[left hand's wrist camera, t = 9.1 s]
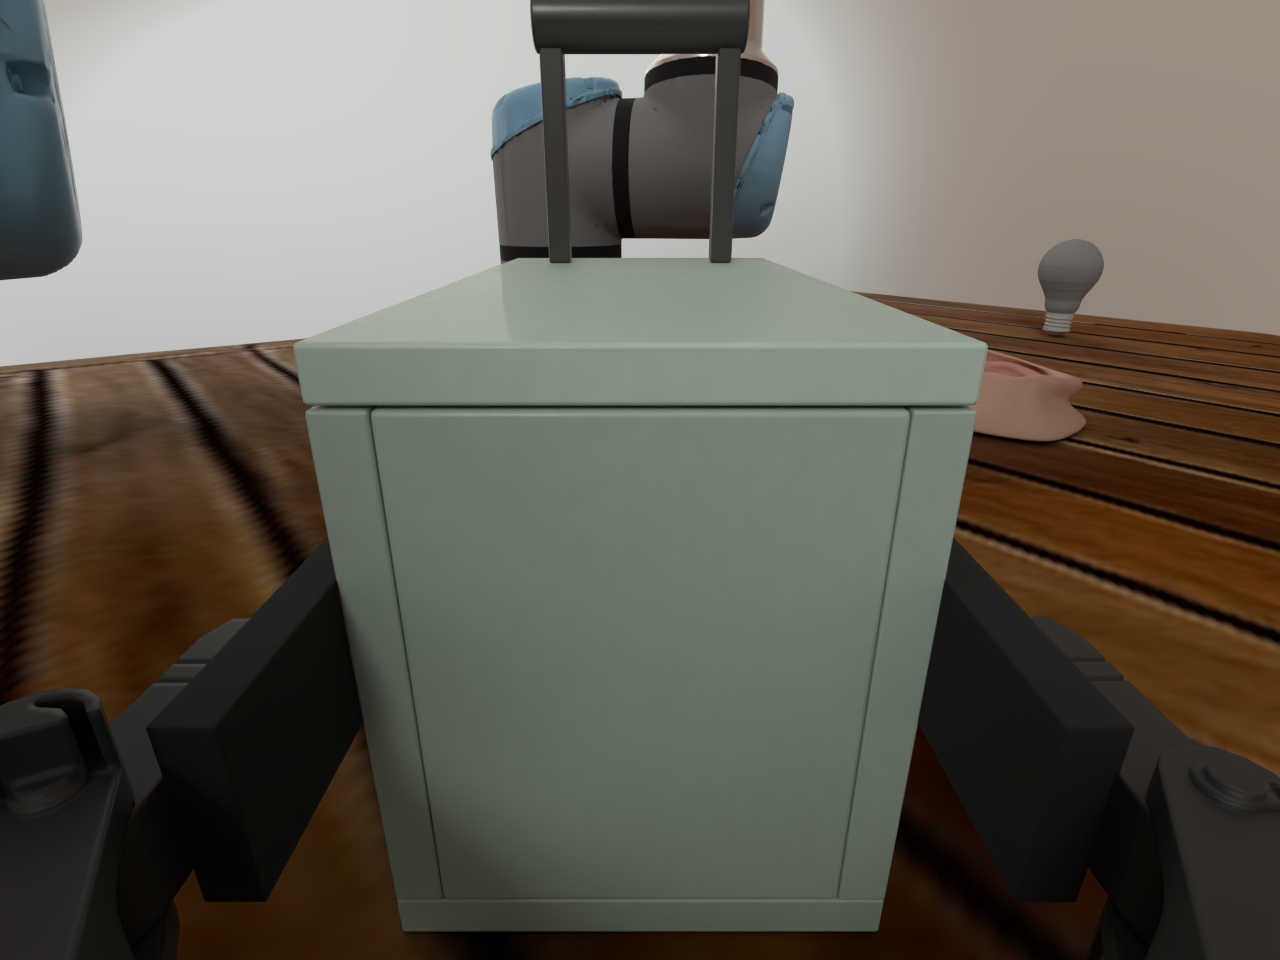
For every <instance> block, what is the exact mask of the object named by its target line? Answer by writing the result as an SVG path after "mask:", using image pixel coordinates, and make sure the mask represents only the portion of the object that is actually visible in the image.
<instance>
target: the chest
mask: <svg viewBox="0 0 1280 960" xmlns="http://www.w3.org/2000/svg"><path fill="white" fill-rule="evenodd" d="M976 415H977V413H976V411H975V410H973V409H972V408H970V407H968V406H314V407H312V408H310V409H309V410H307V411H306V413H305V417H306V423H307V428H308V433H309V438H310V444H311V449H312V454H313V459H314V465H315V470H316V475H317V481H318V486H319V491H320V496H321V502H322V507H323V512H324V518H325V523H326V528H327V533H328V539H329V544H330V549H331V554H332V560H333V565H334V570H335V576H336V580H337V585H338V591H339V596H340V601H341V607H342V612H343V617H344V622H345V628H346V633H347V638H348V644H349V649H350V654H351V659H352V665H353V670H354V675H355V680H356V686H357V691H358V696H359V702H360V707H361V712H362V717H363V723H364V729H365V734H366V739H367V744H368V750H369V755H370V760H371V765H372V771H373V776H374V781H375V787H376V792H377V797H378V802H379V808H380V813H381V818H382V823H383V829H384V834H385V839H386V845H387V850H388V855H389V860H390V866H391V871H392V876H393V882H394V887H395V892H396V897H397V898H398V899H397V904H398V909H399V914H400V919H401V925H402V930H403V931H878V928H879V923H880V918H881V913H882V907H883V902H884V900H883V899H884V898H885V893H886V888H887V882H888V877H889V872H890V867H891V861H892V856H893V851H894V846H895V840H896V835H897V830H898V825H899V819H900V814H901V809H902V804H903V798H904V793H905V788H906V783H907V777H908V772H909V767H910V762H911V756H912V751H913V746H914V741H915V735H916V730H917V725H918V718H919V712H920V707H921V702H922V697H923V691H924V686H925V681H926V676H927V670H928V665H929V660H930V655H931V649H932V644H933V639H934V633H935V628H936V623H937V618H938V612H939V607H940V602H941V597H942V591H943V586H944V581H945V578H946V573H947V567H948V562H949V557H950V552H951V546H952V541H953V536H954V531H955V525H956V520H957V515H958V510H959V504H960V499H961V494H962V489H963V483H964V478H965V473H966V468H967V462H968V457H969V452H970V447H971V442H972V436H973V431H974V426H975V421H976Z"/></svg>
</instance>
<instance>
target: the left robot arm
mask: <svg viewBox="0 0 1280 960" xmlns="http://www.w3.org/2000/svg"><path fill="white" fill-rule="evenodd" d="M81 243H82V229H81V219H80V212H79V205H78V198H77V191H76V185H75V179H74V172H73V166H72V160H71V154H70V147H69V141H68V135H67V129H66V124H65V118H64V112H63V106H62V100H61V95H60V89H59V84H58V78H57V73H56V67H55V61H54V55H53V49H52V44H51V38H50V32H49V27H48V22H47V16H46V11H45V6H44V0H0V280H7V279H19V278H30V277H41V276H46V275H48V274H51V273H54V272H57V271H58V270H60V269H62V268H63V267H65V266H67V265H68V264H69V263H70V262H72V261H73V259H74V258H75V257H76V255H77V254H78V252H79V249H80V247H81ZM1123 677H1124V676H1123V675H1122V674H1121V673H1120V672H1119V671H1118V670H1117V669H1116V668H1115V667H1114V666H1113V665H1111V664H1110V663H1109V662H1105V660H1104V657H1103V656H1102V655H1101V654H1100V653H1099V652H1098V651H1097V650H1096V649H1095V648H1094V647H1093V646H1092V645H1091V644H1090V643H1089V642H1088V641H1087V640H1086V639H1085V638H1084V637H1082V636H1081V635H1080V634H1078V633H1076V632H1075V631H1073V630H1071V629H1069V628H1068V627H1066V626H1064V625H1063V624H1061V623H1059V622H1057V621H1056V620H1054V619H1052V618H1050V617H1029V616H1028V615H1027V614H1026V613H1025V612H1024V611H1023V610H1022V609H1021V608H1020V607H1019V606H1018V605H1017V604H1016V602H1015V601H1014V600H1013V599H1012V598H1011V597H1010V596H1009V595H1008V594H1007V593H1006V592H1005V591H1004V590H1003V589H1002V588H1001V587H1000V586H999V585H998V584H997V583H996V582H995V580H994V579H993V578H992V577H991V576H990V575H989V574H988V573H987V572H986V571H985V570H984V569H983V568H982V567H981V566H980V565H979V564H978V563H977V562H976V561H975V560H974V558H973V557H972V556H971V555H970V554H969V553H968V552H967V551H966V550H965V549H964V548H963V547H962V546H961V545H960V544H959V543H958V542H957V541H956V540H955V539H954V538H953V541H952V546H951V552H950V557H949V562H948V567H947V573H946V578H945V581H944V586H943V591H942V597H941V602H940V607H939V612H938V618H937V623H936V628H935V633H934V639H933V644H932V649H931V655H930V660H929V665H928V670H927V676H926V681H925V686H924V691H923V697H922V702H921V707H920V712H919V718H918V723H919V725H920V727H921V729H922V731H923V733H924V735H925V736H926V738H927V740H928V742H929V744H930V746H931V747H932V749H933V751H934V753H935V755H936V757H937V759H938V760H939V762H940V764H941V766H942V768H943V770H944V771H945V773H946V775H947V777H948V779H949V781H950V783H951V784H952V786H953V788H954V790H955V792H956V794H957V796H958V797H959V799H960V801H961V803H962V805H963V807H964V808H965V810H966V812H967V814H968V816H969V818H970V820H971V821H972V823H973V825H974V827H975V829H976V831H977V833H978V834H979V836H980V838H981V840H982V842H983V844H984V845H985V847H986V849H987V851H988V853H989V855H990V857H991V858H992V860H993V862H994V864H995V866H996V868H997V870H998V871H999V873H1000V875H1001V877H1002V879H1003V881H1004V882H1005V884H1006V886H1007V888H1008V890H1009V892H1010V894H1011V895H1012V897H1013V899H1014V901H1015V902H1076V900H1077V897H1078V894H1079V891H1080V888H1081V885H1082V882H1083V879H1084V876H1085V873H1086V870H1087V868H1088V867H1089V868H1090V870H1091V871H1092V873H1093V874H1094V876H1095V877H1096V879H1097V880H1098V882H1099V883H1100V884H1101V886H1102V887H1103V889H1104V890H1105V892H1106V893H1107V895H1108V898H1107V900H1106V903H1105V906H1104V909H1103V911H1102V914H1101V917H1100V920H1099V922H1098V925H1097V928H1096V930H1095V933H1094V936H1093V939H1092V941H1091V944H1090V947H1089V950H1088V953H1087V958H1086V960H1100V958H1101V956H1102V955H1103V954H1104V960H1280V778H1279V777H1277V776H1276V775H1275V774H1274V773H1272V772H1270V771H1268V770H1266V769H1265V768H1263V767H1261V766H1259V765H1257V764H1255V763H1254V762H1252V761H1250V760H1248V759H1246V758H1244V757H1241V756H1238V755H1235V754H1233V753H1230V752H1227V751H1224V750H1222V749H1219V748H1215V747H1209V746H1203V745H1198V744H1193V743H1192V742H1191V741H1190V740H1189V739H1188V738H1187V737H1186V736H1185V735H1184V734H1183V733H1182V732H1181V731H1180V730H1179V729H1178V728H1177V727H1176V726H1175V725H1174V724H1173V723H1172V722H1171V721H1170V720H1168V719H1167V718H1166V717H1165V716H1164V715H1163V714H1162V713H1161V712H1160V711H1159V710H1158V709H1157V708H1156V707H1155V706H1154V705H1153V704H1152V703H1151V702H1150V701H1149V700H1148V699H1147V698H1146V697H1145V696H1144V695H1143V694H1142V693H1141V692H1139V691H1138V690H1137V689H1136V688H1135V687H1134V686H1133V685H1132V684H1131V683H1130V682H1129V681H1124V678H1123ZM362 723H363V717H362V712H361V707H360V702H359V696H358V691H357V686H356V680H355V675H354V670H353V665H352V659H351V654H350V649H349V644H348V638H347V633H346V628H345V622H344V617H343V612H342V607H341V601H340V596H339V591H338V585H337V580H336V576H335V570H334V565H333V560H332V554H331V549H330V544H329V539H328V537H327V538H326V539H325V540H324V542H323V543H322V544H321V545H320V546H319V547H318V548H317V549H316V550H315V551H314V552H313V553H312V554H311V555H310V556H309V557H308V558H307V559H306V560H305V561H304V562H303V564H302V565H301V566H300V567H299V568H298V569H297V570H296V571H295V572H294V573H293V574H292V575H291V576H290V577H289V578H288V579H287V580H286V581H285V582H284V583H283V584H282V586H281V587H280V588H279V589H278V590H277V591H276V592H275V593H274V594H273V595H272V596H271V597H270V598H269V599H268V600H267V601H266V602H265V603H264V604H263V605H262V606H261V608H260V609H259V610H258V611H257V612H256V613H255V614H254V615H253V616H252V617H251V618H250V619H231V620H229V621H228V622H226V623H224V624H223V625H221V626H219V627H218V628H216V629H214V630H212V631H211V632H209V633H207V634H206V635H204V636H202V637H200V638H199V639H198V640H197V641H196V642H195V643H194V644H193V645H192V646H191V647H190V648H189V649H188V650H187V651H186V652H185V653H184V654H183V655H182V656H181V657H180V658H179V659H178V660H177V664H173V665H172V666H170V667H169V668H168V669H167V670H166V671H165V672H164V673H163V674H162V675H161V676H160V677H159V678H158V683H153V684H152V685H151V686H150V687H149V688H148V689H147V690H146V691H145V692H144V693H143V694H142V695H141V696H140V697H139V698H138V699H137V700H136V701H134V702H133V703H132V704H131V705H130V706H129V707H128V708H127V709H126V710H125V711H124V712H123V713H122V714H121V715H120V716H119V717H118V718H117V719H116V720H115V721H114V722H113V723H112V724H111V725H109V723H108V720H107V717H106V715H105V712H104V709H103V706H102V704H101V701H100V698H99V696H97V695H96V694H94V693H92V692H91V691H89V690H87V689H77V688H62V689H55V690H49V691H43V692H38V693H35V694H32V695H29V696H26V697H22V698H19V699H16V700H13V701H10V702H8V703H6V704H4V705H1V706H0V960H176V955H177V945H178V936H179V927H180V924H179V918H178V913H177V909H176V906H175V903H174V900H173V898H174V897H175V895H176V894H177V892H178V891H179V889H180V888H181V886H182V885H183V884H184V882H185V881H186V879H187V878H188V876H189V875H190V873H191V872H192V870H193V869H194V871H195V873H196V876H197V879H198V882H199V885H200V888H201V891H202V894H203V897H204V900H205V902H266V901H267V899H268V897H269V895H270V893H271V891H272V889H273V888H274V886H275V884H276V882H277V880H278V878H279V877H280V875H281V873H282V871H283V869H284V867H285V865H286V864H287V862H288V860H289V858H290V856H291V854H292V852H293V851H294V849H295V847H296V845H297V843H298V841H299V840H300V838H301V836H302V834H303V832H304V830H305V828H306V827H307V825H308V823H309V821H310V819H311V817H312V815H313V814H314V812H315V810H316V808H317V806H318V804H319V803H320V801H321V799H322V797H323V795H324V793H325V791H326V790H327V788H328V786H329V784H330V782H331V780H332V778H333V777H334V775H335V773H336V771H337V769H338V767H339V766H340V764H341V762H342V760H343V758H344V756H345V754H346V753H347V751H348V749H349V747H350V745H351V743H352V741H353V740H354V738H355V736H356V734H357V732H358V730H359V729H360V727H361V725H362Z"/></svg>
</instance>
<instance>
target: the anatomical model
mask: <svg viewBox="0 0 1280 960" xmlns="http://www.w3.org/2000/svg"><path fill="white" fill-rule="evenodd" d="M1081 388H1082V381H1081V380H1080V379H1079V378H1077V377H1074V376H1072V375H1068V374H1065V373H1062V372H1059V371H1055V370H1052V369H1049V368H1046V367H1042V366H1039V365H1037V364H1034V363H1031V362H1028V361H1025V360H1022V359H1019V358H1016V357H1012V356H1009V355H1005V354H1002V353H998V352H994V351H991V350H988V351H987V356H986V362H985V367H984V372H983V377H982V383H981V388H980V393H979V398H978V402H977V403H976V404H975V405H971V406H968V407H970V408H972V409H973V410H975V411H976V413H977V415H976V421H975V426H974V431H973V432H976V433H982V434H988V435H993V436H999V437H1005V438H1012V439H1019V440H1028V441H1042V442H1046V441H1056V440H1060V439H1063V438H1066V437H1068V436H1070V435H1072V434H1074V433H1076V432H1078V431H1080V430H1081V429H1082V428H1083V427H1084V426H1085V424H1086V420H1085V418H1084V417H1083V416H1082V415H1081V414H1080V413H1079V412H1078V411H1077V410H1075V409H1074V408H1073V407H1072V406H1071V405H1070V403H1069V400H1070V398H1072V397H1073V396H1074V395H1076V394H1077V393H1079V391H1080V390H1081Z"/></svg>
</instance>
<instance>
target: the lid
mask: <svg viewBox="0 0 1280 960" xmlns="http://www.w3.org/2000/svg"><path fill="white" fill-rule="evenodd" d="M530 12H531V27H532V36H533V42H534V47H535V50H536V52H537V53H538V54H540V72H541V94H542V115H543V136H544V157H545V178H546V200H547V221H548V242H549V258H517V259H514V260H512V261H509V262H506V263H504V264H501V265H499V266H496V267H493V268H491V269H488V270H486V271H483V272H480V273H478V274H475V275H472V276H470V277H467V278H465V279H462V280H459V281H457V282H454V283H451V284H449V285H446V286H444V287H441V288H438V289H436V290H433V291H430V292H428V293H425V294H423V295H420V296H417V297H415V298H412V299H409V300H407V301H404V302H402V303H399V304H396V305H394V306H391V307H389V308H386V309H383V310H381V311H378V312H375V313H373V314H370V315H368V316H365V317H362V318H360V319H357V320H354V321H352V322H349V323H347V324H344V325H342V326H339V327H336V328H334V329H331V330H328V331H326V332H323V333H320V334H318V335H315V336H313V337H310V338H307V339H305V340H302V341H299V342H297V343H295V344H294V347H293V351H294V356H295V361H296V367H297V372H298V377H299V382H300V388H301V393H302V398H303V402H304V403H305V404H306V405H310V406H971V405H975V404H976V403H977V402H978V398H979V393H980V388H981V383H982V377H983V372H984V367H985V362H986V356H987V351H988V347H987V344H986V343H984V342H981V341H979V340H976V339H974V338H971V337H968V336H966V335H963V334H960V333H958V332H955V331H953V330H950V329H947V328H945V327H942V326H939V325H937V324H934V323H932V322H929V321H926V320H924V319H921V318H918V317H916V316H913V315H911V314H908V313H905V312H903V311H900V310H897V309H895V308H892V307H890V306H887V305H884V304H882V303H879V302H876V301H874V300H871V299H869V298H866V297H863V296H861V295H858V294H855V293H853V292H850V291H847V290H845V289H842V288H840V287H837V286H834V285H832V284H829V283H827V282H824V281H821V280H819V279H816V278H813V277H811V276H808V275H806V274H803V273H800V272H798V271H795V270H792V269H790V268H787V267H785V266H782V265H779V264H777V263H774V262H771V261H769V260H766V259H764V258H731V252H732V230H733V209H734V188H735V167H736V146H737V125H738V104H739V83H740V62H741V54H742V53H744V51H745V49H746V45H747V40H748V32H749V22H750V0H530ZM564 54H716V71H715V99H714V127H713V155H712V183H711V211H710V239H709V258H572V252H571V224H570V196H569V167H568V139H567V111H566V83H565V55H564Z"/></svg>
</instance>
